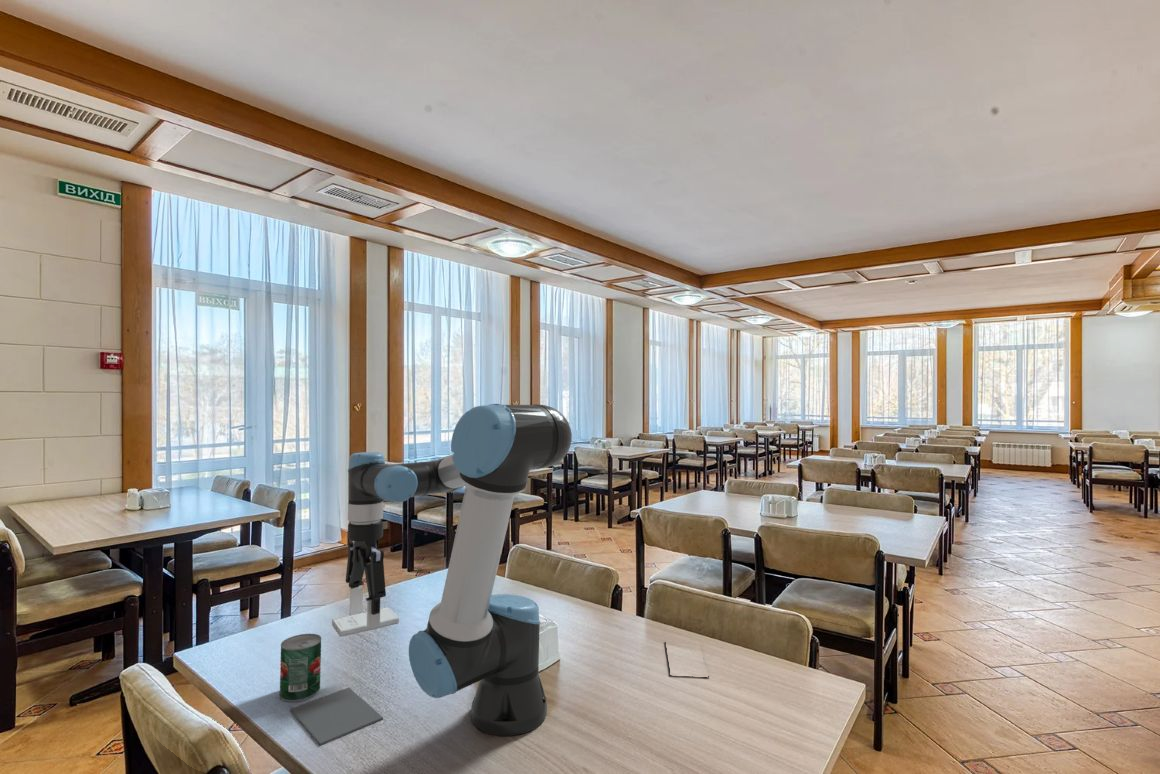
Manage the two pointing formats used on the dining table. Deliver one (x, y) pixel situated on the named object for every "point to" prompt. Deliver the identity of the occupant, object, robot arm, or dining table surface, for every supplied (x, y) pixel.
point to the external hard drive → (362, 622)
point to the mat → (335, 715)
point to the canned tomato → (300, 667)
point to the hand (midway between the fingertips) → (364, 621)
